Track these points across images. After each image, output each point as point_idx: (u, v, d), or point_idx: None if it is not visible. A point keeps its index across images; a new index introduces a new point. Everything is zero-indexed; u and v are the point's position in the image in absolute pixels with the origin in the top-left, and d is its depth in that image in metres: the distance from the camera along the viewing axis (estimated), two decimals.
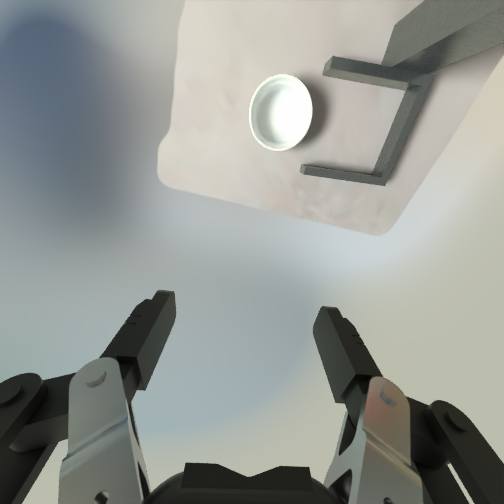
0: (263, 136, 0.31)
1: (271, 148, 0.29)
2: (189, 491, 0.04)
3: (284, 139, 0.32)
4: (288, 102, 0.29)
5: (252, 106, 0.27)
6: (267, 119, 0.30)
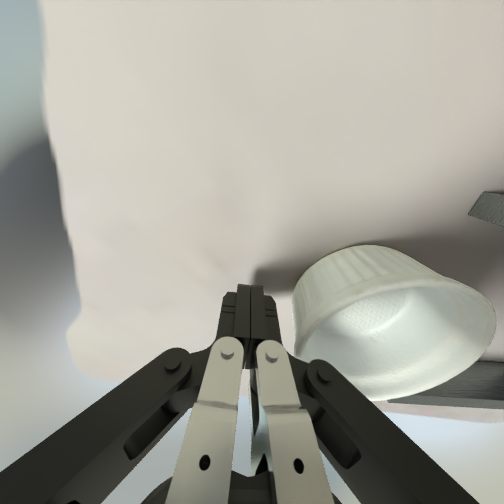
0: None
1: None
2: (189, 491, 0.04)
3: (362, 332, 0.14)
4: None
5: (307, 341, 0.09)
6: None
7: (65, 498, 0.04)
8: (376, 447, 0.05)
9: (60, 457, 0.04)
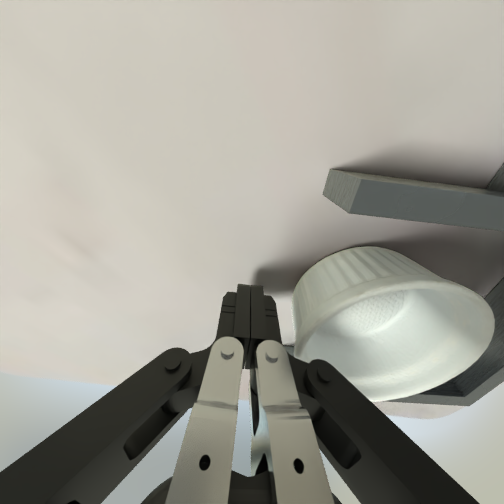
0: None
1: None
2: None
3: (361, 333, 0.14)
4: None
5: (307, 341, 0.09)
6: None
7: (65, 498, 0.04)
8: (376, 447, 0.05)
9: (60, 457, 0.04)
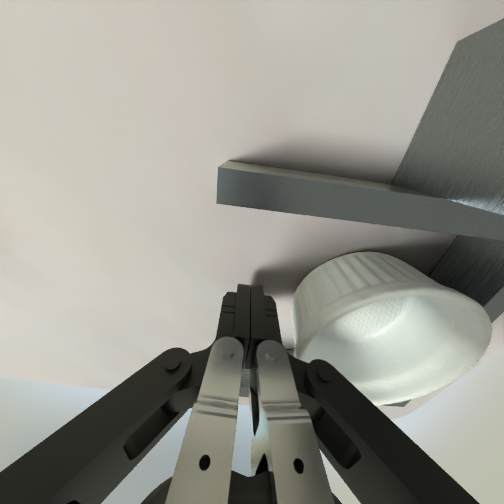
0: None
1: None
2: (189, 491, 0.04)
3: (358, 337, 0.14)
4: None
5: (309, 344, 0.09)
6: None
7: (65, 498, 0.04)
8: (376, 447, 0.05)
9: (60, 457, 0.04)
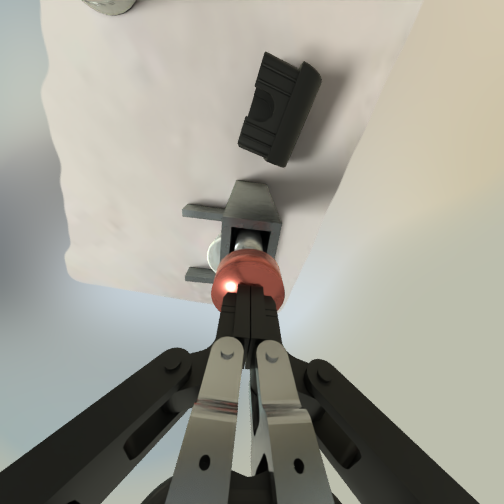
0: None
1: None
2: (189, 491, 0.04)
3: None
4: None
5: (209, 252, 0.34)
6: None
7: (65, 498, 0.04)
8: (376, 447, 0.05)
9: (60, 457, 0.04)
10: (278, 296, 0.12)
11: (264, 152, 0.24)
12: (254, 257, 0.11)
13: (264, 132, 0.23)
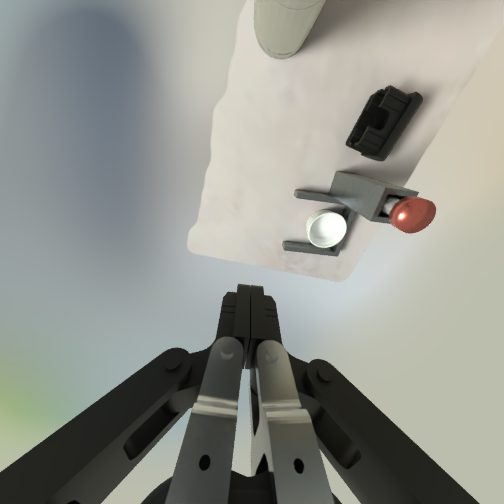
0: (311, 234, 0.49)
1: (318, 246, 0.47)
2: None
3: (324, 236, 0.50)
4: (330, 218, 0.47)
5: (311, 226, 0.45)
6: (316, 225, 0.48)
7: (65, 498, 0.04)
8: (376, 447, 0.05)
9: (60, 457, 0.04)
10: (431, 217, 0.24)
11: (375, 150, 0.35)
12: (421, 198, 0.24)
13: (379, 136, 0.34)
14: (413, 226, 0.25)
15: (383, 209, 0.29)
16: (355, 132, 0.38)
